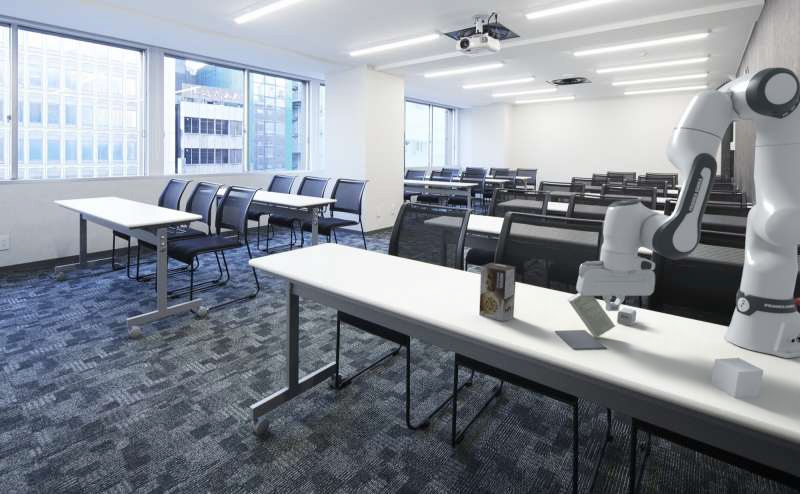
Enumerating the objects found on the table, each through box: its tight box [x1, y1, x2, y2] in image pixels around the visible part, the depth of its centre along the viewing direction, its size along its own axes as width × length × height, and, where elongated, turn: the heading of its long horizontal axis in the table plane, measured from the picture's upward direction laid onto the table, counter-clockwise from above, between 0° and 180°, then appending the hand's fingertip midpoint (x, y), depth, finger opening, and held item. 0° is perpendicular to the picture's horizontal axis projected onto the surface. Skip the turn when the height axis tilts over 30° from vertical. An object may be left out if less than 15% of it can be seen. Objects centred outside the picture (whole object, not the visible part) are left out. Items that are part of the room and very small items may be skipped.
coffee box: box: [478, 262, 517, 322], centre depth 141 cm, size 9×6×16 cm
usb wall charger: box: [616, 307, 637, 327], centre depth 138 cm, size 4×7×4 cm, turn 139°
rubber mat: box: [554, 329, 608, 351], centre depth 125 cm, size 9×12×1 cm
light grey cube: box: [710, 357, 764, 399], centre depth 98 cm, size 6×6×6 cm
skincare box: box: [567, 292, 616, 339], centre depth 126 cm, size 6×4×12 cm
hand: (612, 310), depth 124 cm, fingers closed
